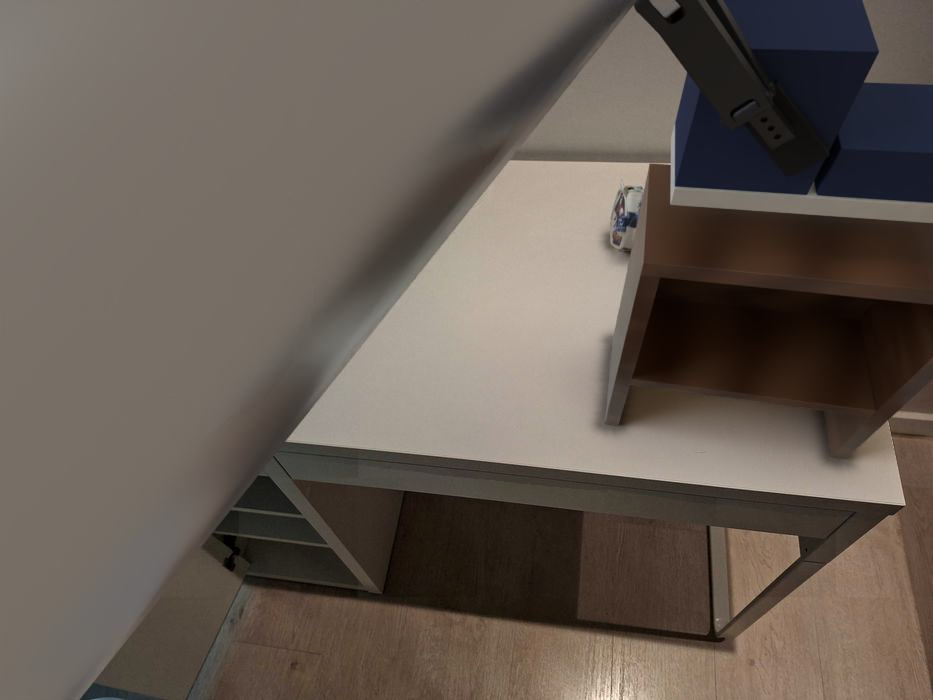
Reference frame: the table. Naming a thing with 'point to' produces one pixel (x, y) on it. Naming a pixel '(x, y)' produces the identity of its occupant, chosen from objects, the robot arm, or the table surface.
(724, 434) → the table surface
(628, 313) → the brown box
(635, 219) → the pencil case
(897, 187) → the blue blocks on base
